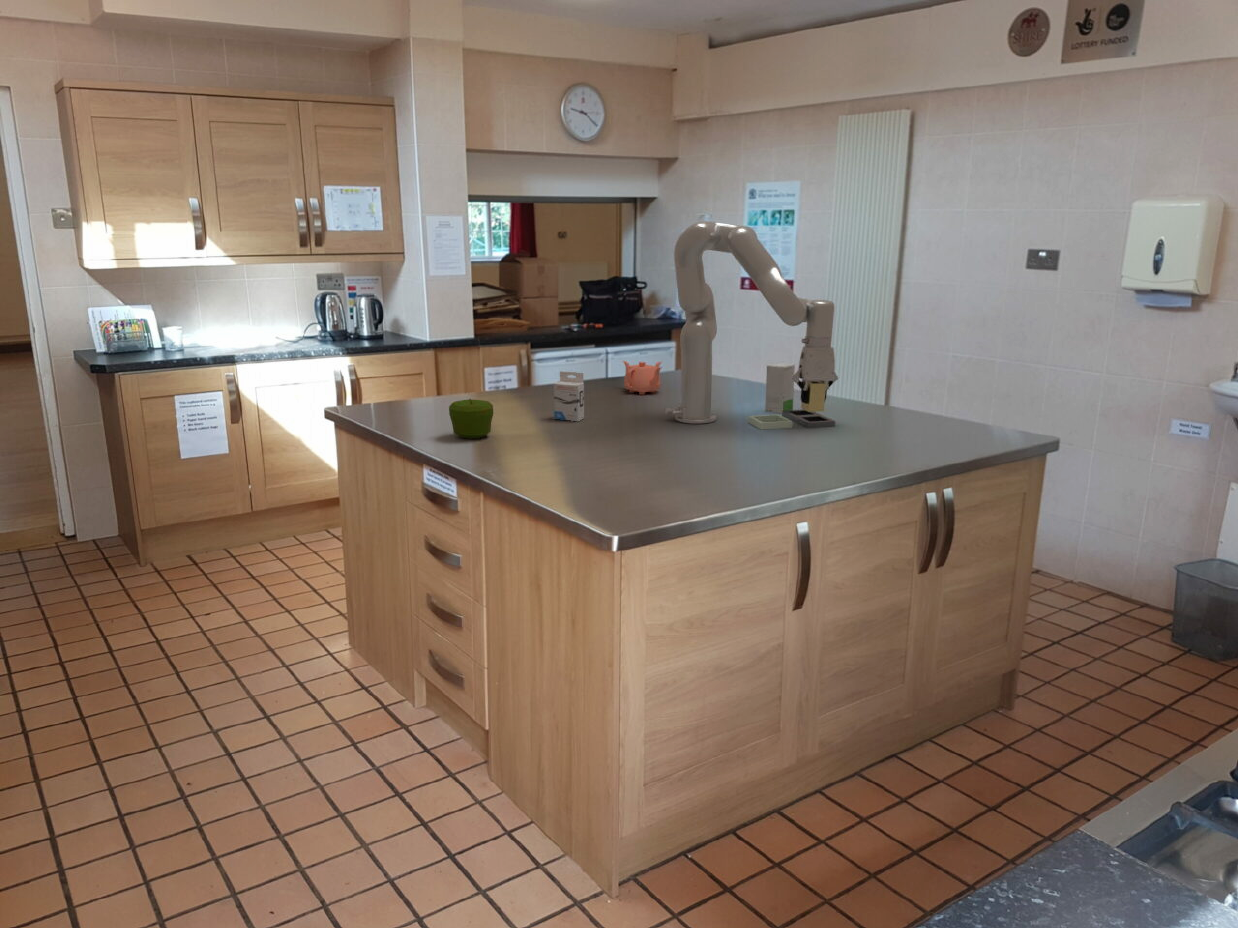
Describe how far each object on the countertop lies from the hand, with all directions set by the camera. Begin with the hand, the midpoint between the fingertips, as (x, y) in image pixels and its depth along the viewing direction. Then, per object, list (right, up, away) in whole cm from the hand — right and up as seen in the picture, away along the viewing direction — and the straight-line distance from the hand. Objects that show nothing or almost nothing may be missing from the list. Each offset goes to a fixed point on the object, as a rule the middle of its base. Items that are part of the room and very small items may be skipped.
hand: (813, 401), depth 279 cm
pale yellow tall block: (0, -2, +1) cm, 3 cm away
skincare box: (-7, -2, +21) cm, 23 cm away
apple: (-101, -11, -11) cm, 102 cm away
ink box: (-74, -5, +11) cm, 75 cm away
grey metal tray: (0, -6, +6) cm, 8 cm away
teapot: (-49, +7, +55) cm, 74 cm away
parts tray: (-13, -8, +1) cm, 15 cm away
